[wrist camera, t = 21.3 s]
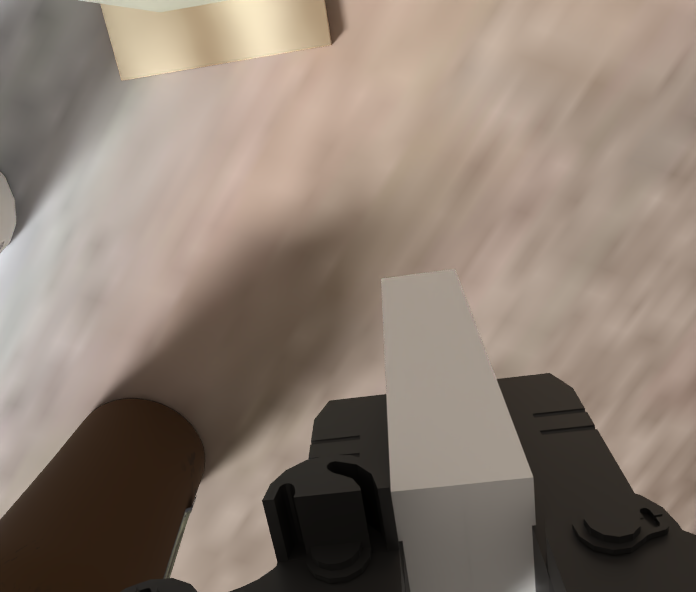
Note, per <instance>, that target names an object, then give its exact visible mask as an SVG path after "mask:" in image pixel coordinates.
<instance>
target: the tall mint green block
mask: <svg viewBox="0 0 696 592" xmlns="http://www.w3.org/2000/svg"><path fill="white" fill-rule="evenodd" d="M80 1H87V2H93V3H100V4H107V5H114V6H120V7H127V8H134V9H141V10H147V11H154V12H165V11H171V10H177V9H182V8H188V7H193V6H199V5H205V4H210V3H216V2H221V1H227V0H80Z"/></svg>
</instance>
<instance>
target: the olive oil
mask: <svg viewBox="0 0 696 592" xmlns="http://www.w3.org/2000/svg"><path fill="white" fill-rule="evenodd" d="M204 465H205V454H204V449H203V445H202V442H201V440H200V438H199V436H198V434H197V432H196V431H195V429H194V428H193V427H192V426H191V424H190V423H189V422H188V421H187V420H186V419H185V418H183V417H182V416H181V415H180V414H178V413H177V412H175V411H174V410H172V409H170V408H169V407H167V406H164V405H162V404H159V403H157V402H153V401H149V400H144V399H120V400H116V401H112V402H109V403H106V404H104V405H102V406H100V407H99V408H97V409H96V410H94V411H93V412H92V413H91V414H90V415H89V416H88V417H87V418H86V419H85V420H84V421H83V422H82V424H81V425H80V426H79V427H78V428H77V430H76V431H75V432H74V433H73V435H72V436H71V437H70V438H69V439H68V441H67V442H66V443H65V444H64V446H63V447H62V448H61V449H60V451H59V452H58V453H57V454H56V455H55V457H54V458H53V459H52V460H51V461H50V463H49V464H48V465H47V466H46V467H45V468H44V470H43V471H42V472H41V473H40V474H39V475H38V477H37V478H36V479H35V480H34V481H33V482H32V484H31V485H30V486H29V487H28V488H27V489H26V491H25V492H24V493H23V494H22V495H21V496H20V498H19V499H18V500H17V501H16V502H15V503H14V504H13V506H12V507H11V508H10V509H9V510H8V511H7V513H6V514H5V515H4V516H3V517H2V518H1V519H0V592H121V591H122V590H124V589H125V588H127V587H130V586H133V585H136V584H139V583H142V582H145V581H147V580H151V579H167V578H170V575H171V572H172V569H173V566H174V562H175V559H176V556H177V553H178V549H179V546H180V543H181V540H182V536H183V533H184V530H185V527H186V524H187V521H188V518H189V515H190V513H191V511H192V508H193V505H194V503H193V502H195V500H194V499H196V497H197V496H196V493H197V490H198V487H199V484H200V481H201V478H202V475H203V471H204ZM195 496H196V497H195Z"/></svg>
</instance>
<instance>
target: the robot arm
mask: <svg viewBox="0 0 696 592" xmlns="http://www.w3.org/2000/svg"><path fill="white" fill-rule="evenodd" d="M381 288H382V310H383V332H384V354H385V376H386V394H384V395H375V396H367V397H358V398H349V399H341V400H332V401H329V402H328V403H327V404H326V406H325V407H324V408H323V410H322V411H321V412H320V413H319V415H318V416H317V417H316V418H315V420H314V425H313V432H312V438H311V444H312V445H310V452H309V460H306V461H304V462H302V463H300V464H298V465H296V466H294V467H292V468H290V469H288V470H286V471H285V472H284V473H282V474H281V475H280V476H279V477H278V478H277V479H276V480H275V481H274V482H272V483H271V484H270V486H269V488H268V490H267V492H266V494H265V496H264V498H263V500H262V502H263V506H264V510H265V514H266V518H267V522H268V526H269V530H270V534H271V538H272V542H273V546H274V550H275V554H276V558H277V566H276V567H275V568H274V569H273V570H271V571H270V572H268V573H267V574H265V575H264V576H263V577H261V578H260V579H258V580H256V581H254V582H252V583H250V584H247V585H245V586H243V587H241V588H238V589H235V590H233V591H230V592H696V535H694V534H691V533H689V532H686V531H683V530H682V529H681V528H680V526H679V524H678V523H677V522H676V521H675V520H674V519H673V518H672V517H671V516H670V515H669V514H668V513H667V512H666V511H665V509H664V508H663V507H661V506H659V505H657V504H656V503H654V502H652V501H650V500H648V499H647V498H645V497H643V496H641V495H638V494H635V493H634V491H633V490H632V488H631V486H630V484H629V483H628V481H627V479H626V478H625V476H624V474H623V473H622V471H621V469H620V467H619V466H618V464H617V462H616V461H615V459H614V457H613V456H612V454H611V452H610V450H609V449H608V447H607V445H606V444H605V442H604V440H603V439H602V437H601V435H600V433H599V432H598V430H597V429H595V425H594V423H593V422H592V420H591V418H590V416H589V415H588V413H587V412H585V408H584V406H583V404H582V403H581V401H580V399H579V398H578V396H577V394H576V393H575V391H574V389H573V388H572V387H570V386H569V385H567V384H566V383H564V382H563V381H561V380H560V379H558V378H557V377H555V376H553V375H552V374H550V373H546V374H537V375H528V376H520V377H511V378H502V379H496V376H495V374H494V371H493V369H492V366H491V363H490V361H489V358H488V355H487V353H486V350H485V347H484V345H483V342H482V339H481V337H480V334H479V331H478V329H477V326H476V323H475V321H474V318H473V315H472V313H471V310H470V307H469V305H468V302H467V299H466V297H465V294H464V291H463V289H462V286H461V283H460V281H459V278H458V275H457V273H456V270H455V269H449V270H442V271H434V272H426V273H419V274H411V275H404V276H396V277H388V278H381ZM121 592H197V591H196V589H195V588H194V587H193V586H192V585H191V584H189V583H186V582H183V581H180V580H177V579H174V578H167V579H151V580H147V581H145V582H142V583H139V584H136V585H133V586H130V587H127V588H125V589H124V590H122V591H121Z"/></svg>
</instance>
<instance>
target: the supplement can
mask: <svg viewBox="0 0 696 592" xmlns="http://www.w3.org/2000/svg"><path fill="white" fill-rule="evenodd" d="M15 226H16V209H15V199H14V197H13V195H12V192H11V190H10V188H9V185H8V183H7V181H6V178H5V177H4V175H3V174H2V173H1V172H0V253H1V252H2V251H3V250H4V249H5V247H6V246H7V245H8V244H9V243H10V241H11V238H12V235H13V232H14V229H15Z"/></svg>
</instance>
